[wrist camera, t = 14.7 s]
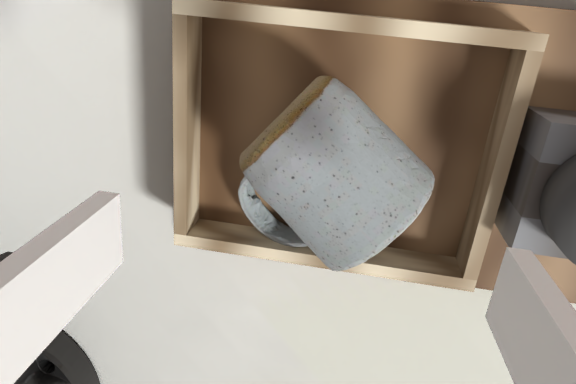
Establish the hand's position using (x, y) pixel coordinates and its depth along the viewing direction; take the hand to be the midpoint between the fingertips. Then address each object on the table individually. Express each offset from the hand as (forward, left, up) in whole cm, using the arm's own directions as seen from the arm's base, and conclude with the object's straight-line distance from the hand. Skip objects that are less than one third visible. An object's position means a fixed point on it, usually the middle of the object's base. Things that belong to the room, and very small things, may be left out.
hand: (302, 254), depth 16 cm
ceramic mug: (0, -2, -14) cm, 14 cm away
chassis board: (+5, 0, -15) cm, 15 cm away
